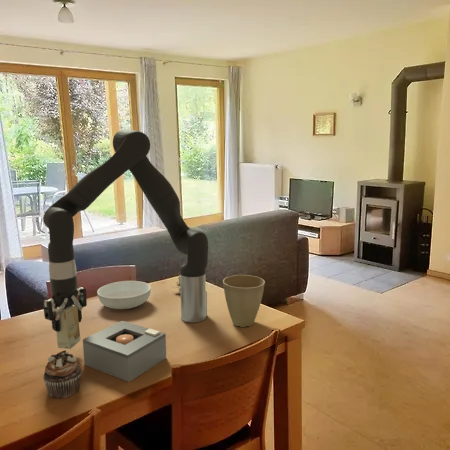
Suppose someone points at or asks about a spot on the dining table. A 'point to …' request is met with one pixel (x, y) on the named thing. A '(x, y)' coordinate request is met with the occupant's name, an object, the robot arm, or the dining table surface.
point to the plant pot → (243, 298)
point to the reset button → (124, 339)
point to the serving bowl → (124, 294)
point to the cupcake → (62, 375)
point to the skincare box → (68, 328)
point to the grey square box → (124, 350)
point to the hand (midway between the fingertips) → (67, 326)
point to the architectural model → (177, 285)
